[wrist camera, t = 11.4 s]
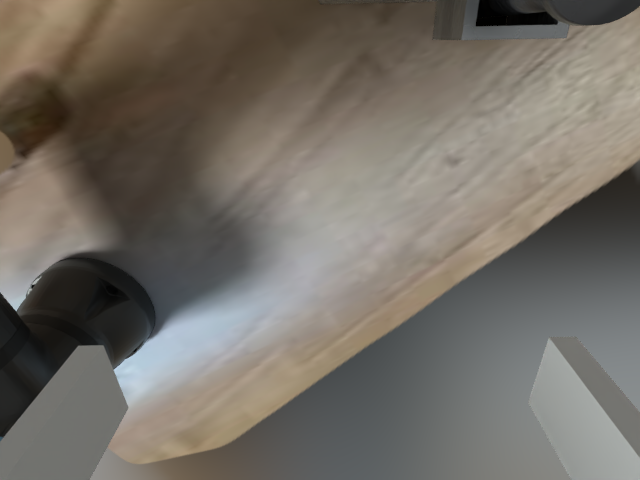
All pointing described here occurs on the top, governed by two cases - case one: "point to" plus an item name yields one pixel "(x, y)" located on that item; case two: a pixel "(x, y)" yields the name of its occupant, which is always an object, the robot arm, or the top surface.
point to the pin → (561, 9)
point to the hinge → (459, 24)
